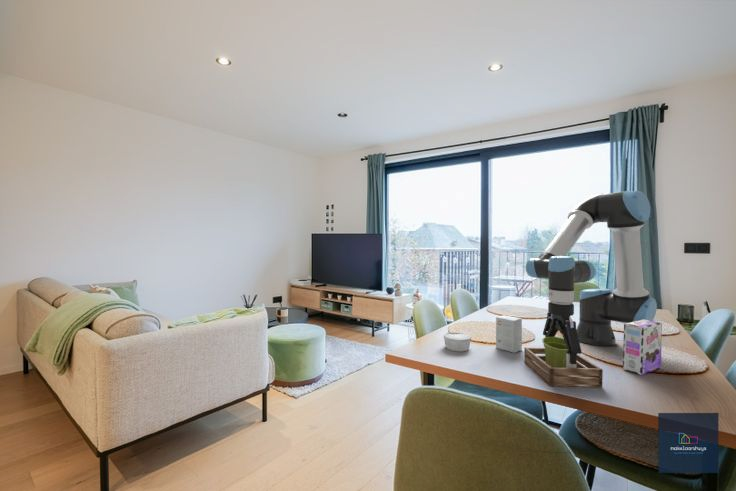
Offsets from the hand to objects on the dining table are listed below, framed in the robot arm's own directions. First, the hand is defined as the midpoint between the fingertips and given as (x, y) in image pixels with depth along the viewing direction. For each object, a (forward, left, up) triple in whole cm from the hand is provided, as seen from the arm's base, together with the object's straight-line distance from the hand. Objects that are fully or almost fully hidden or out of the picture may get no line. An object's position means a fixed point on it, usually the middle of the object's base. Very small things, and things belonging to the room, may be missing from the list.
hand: (560, 365), depth 114 cm
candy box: (-31, -6, -3) cm, 32 cm away
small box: (+8, -25, -3) cm, 26 cm away
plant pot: (0, -3, -2) cm, 4 cm away
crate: (0, 0, -3) cm, 3 cm away
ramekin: (+29, -25, -3) cm, 39 cm away
